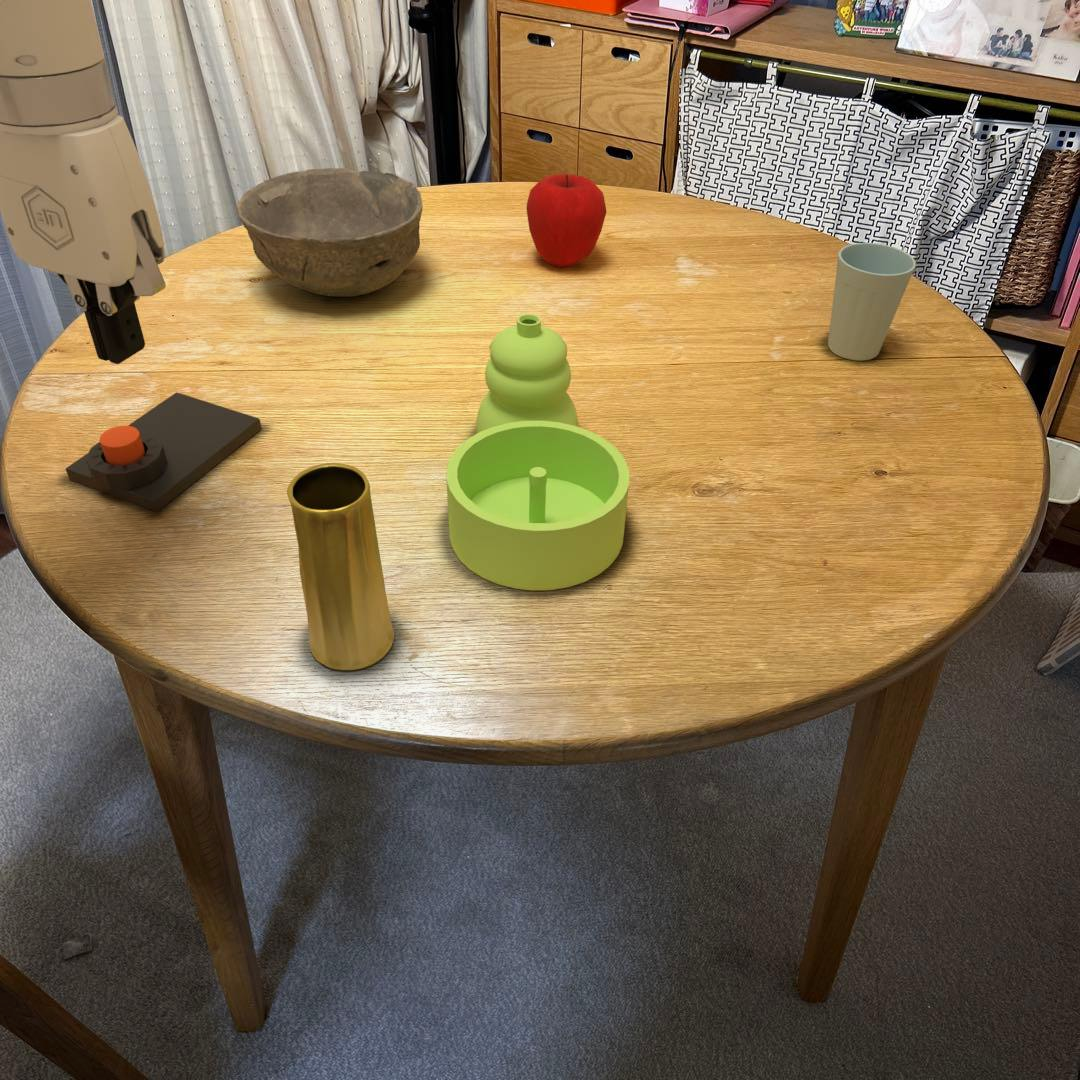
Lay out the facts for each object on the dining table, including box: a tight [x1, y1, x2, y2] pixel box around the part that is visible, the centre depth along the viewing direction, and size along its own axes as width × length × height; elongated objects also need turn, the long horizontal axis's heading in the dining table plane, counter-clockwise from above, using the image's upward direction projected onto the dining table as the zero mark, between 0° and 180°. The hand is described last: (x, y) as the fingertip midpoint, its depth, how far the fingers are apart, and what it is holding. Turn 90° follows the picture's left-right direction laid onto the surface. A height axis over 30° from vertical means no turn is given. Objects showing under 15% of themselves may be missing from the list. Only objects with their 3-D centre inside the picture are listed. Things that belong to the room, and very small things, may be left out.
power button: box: [99, 425, 145, 465], centre depth 82 cm, size 3×3×2 cm
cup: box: [827, 242, 917, 362], centre depth 102 cm, size 8×8×10 cm
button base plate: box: [65, 392, 262, 513], centre depth 86 cm, size 15×10×3 cm
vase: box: [286, 462, 395, 671], centre depth 66 cm, size 6×6×14 cm
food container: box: [446, 313, 631, 592], centre depth 80 cm, size 25×15×13 cm, turn 4°
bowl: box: [236, 167, 424, 298], centre depth 111 cm, size 21×21×10 cm
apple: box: [526, 173, 607, 268], centre depth 116 cm, size 10×10×11 cm
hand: (122, 353), depth 72 cm, fingers closed
